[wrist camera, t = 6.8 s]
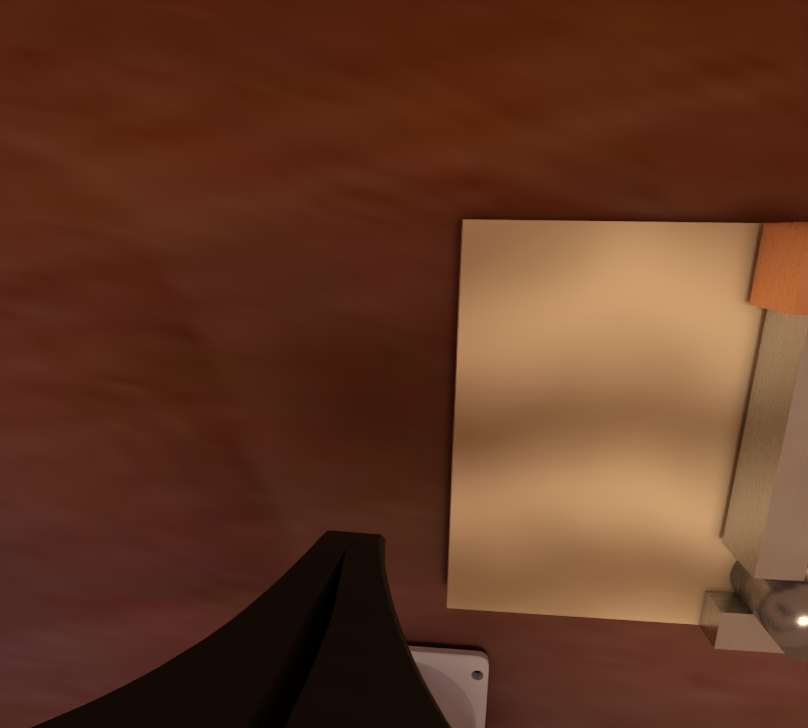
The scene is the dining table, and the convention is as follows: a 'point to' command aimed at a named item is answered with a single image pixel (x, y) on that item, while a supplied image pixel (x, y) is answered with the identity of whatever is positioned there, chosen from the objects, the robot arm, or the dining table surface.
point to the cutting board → (599, 414)
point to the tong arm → (776, 418)
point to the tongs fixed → (758, 615)
